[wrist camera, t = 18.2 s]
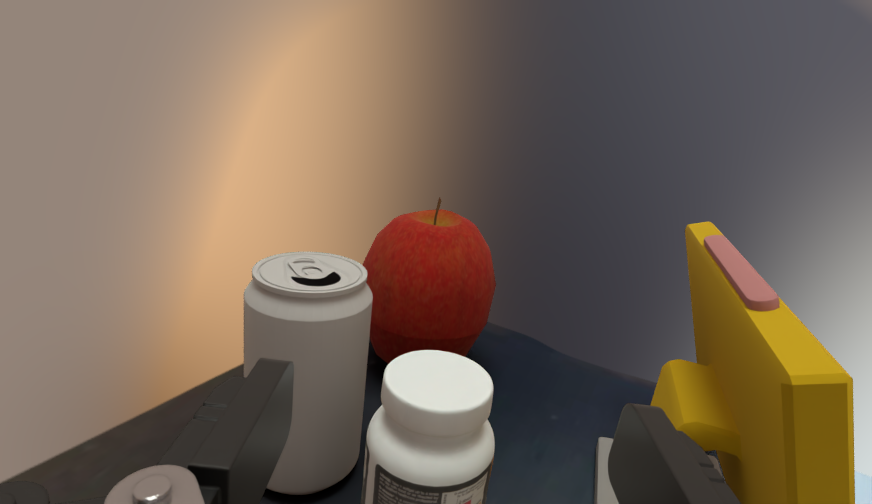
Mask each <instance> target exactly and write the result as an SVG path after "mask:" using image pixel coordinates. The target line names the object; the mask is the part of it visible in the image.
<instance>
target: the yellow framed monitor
mask: <svg viewBox="0 0 872 504" xmlns="http://www.w3.org/2000/svg"><path fill="white" fill-rule="evenodd" d="M685 237H686V247H687V258H688V269H689V280H690V291H691V302H692V312H693V324H694V335H695V346H696V357H697V363H693V362H689V361H685V360H681V359H677V360H672V361H669V362H668V363H666V364H665V365H664V366H663V367H662V369H661V373H660V376H659V379H658V382H657V386H656V389H655V392H654V396H653V399H652V402H651V405H650V406H656V407H660V408H661V409H662V410H663V411H664V412H665V414H666V415H667V417H668V418H669V420H670V421H671V423H672V424H673V426H674V427H675V429H676V430H677V431H683V432H684V433H685V434H686V435H687V436H689V437H690V438H691V439H692V440H693V441H695V442H696V443H697V444H698V445H699V446H701V447H702V449H703V450H704V451H712V450H716V452H717V455H718V459H719V462H720V465H721V468H722V471H723V474H724V478H725V481H726V484H728V486H729V487H730V488H731V490H732V491H733V493H734V494H735V495H736V497H737V498H738V500H739V501H740V503H741V504H855V481H854V423H853V379H852V378H851V377H850V375H849V374H848V373H847V372H846V371H845V370H844V369H843V368H842V366H841V365H840V364H839V363H838V362H837V361H836V360H835V359H834V358H833V356H832V355H831V354H830V353H829V352H828V351H827V350H826V349H825V348H824V346H822V344H821V343H820V342H819V341H818V340H817V339H816V338H815V337H814V335H813V334H812V333H811V332H810V331H809V330H808V329H807V328H806V327H805V325H804V324H803V323H802V322H801V321H800V320H799V319H798V318H797V317H796V315H795V314H794V313H793V312H792V311H791V310H790V309H789V308H788V307H787V306H786V304H785V303H784V302H783V301H782V300H781V299H780V298H779V296H778V295H777V294H776V293H775V291H774V290H773V289H772V288H771V287H770V286H769V285H768V284H767V283H766V281H765V280H764V279H763V278H762V277H761V276H760V275H759V274H758V273H757V272H756V270H755V269H754V268H753V267H752V266H751V265H750V264H749V263H748V262H747V260H746V259H745V258H744V257H743V256H742V255H741V254H740V253H739V252H738V250H737V249H736V248H735V247H734V246H733V245H732V244H731V243H730V242H729V241H728V239H726V237H725V236H723V235H722V233H721V232H720V231H719V230H718V229H717V228H716V227H715V226H714V225H713V224H712V223H711V222H703V223H696V224H689V225H687V227H686V229H685ZM612 442H613V439H611V438H605V437H600V438H599V439H598V443H597V447H596V467H595V496H594V504H619V503H618V500H617V498H616V495H615V493H614V491H613V488H612V486H611V483H610V480H609V475H608V457H609V453H610V449H611V446H612ZM707 456H708V457H709V459H710V460H711V461H712V463H713V464H714V468H715V469H717V470H718V471H719V473H720V474H721V476H722V473H721V470H720V467H719V463H718V460H717V458H715V457H714V456H710V455H707ZM722 477H723V476H722Z"/></svg>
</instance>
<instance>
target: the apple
mask: <svg viewBox="0 0 872 504" xmlns="http://www.w3.org/2000/svg"><path fill="white" fill-rule="evenodd" d="M440 203H441V199H440V198H439V201H438V205H437V209H436V210H427V211H418V212H413V213H409V214H404V215H400V216H398V217H397V218H394V219H393V220H392V221H391V222H390V223H389V224H388V225H387V226H386V227H385V228H384V229H383V230H381V231H380V232H379V233H378V234H377V236H376V238H375V240H374V242H373V244H372V246H371V248H370V250H369V252H368V254H367V257H366V258H365V261H364V263H363V265H362V266H364V267H365V269H366V270H367V281H366V283H367V285H368V286H369V288H370V290H371V292H372V294H373V301H372V313H371V324H370V339H371V343H372V346H373V348H374V350H375V352H376V354H377V355H378V356H379V357H380V358H382V359H383V360H384V361H385V362H387V363H388V364H389V363H390V362H391V361H392V360H394V359H395V358H397V357H398V356H400V355H403V354H405V353H409V352H412V351H420V350H439V351H445V352H451V353H455V354H458V355H461V356H464V357H465V356H466V355H467V353H468V352H469V350H470V348H471V347H472V345H473V344H474V342H475V341H476V339H477V337H478V336H479V334H480V333H481V331H482V330H483V328H484V326H485V325H486V323H487V319H488V315H489V311H490V307H491V303H492V299H493V295H494V291H495V286H496V283H495V276H494V270H493V264H492V258H491V253H490V250H489V247H488V245H487V243H486V242H485V240H484V239H483V237H482V235H481V233H480V231H479V230H478V228H477V227H476V225H474V224H473V223H472V222H471V221H469V220H468V219H466V218H464V217H462V216H460V215H458V214H456V213H453V212H451V211H446V210H439V207H440Z"/></svg>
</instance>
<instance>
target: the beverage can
mask: <svg viewBox="0 0 872 504" xmlns="http://www.w3.org/2000/svg"><path fill="white" fill-rule="evenodd" d="M252 278H253V280H252V281H251V282H250V283H249V285H248V286H247V288H246V289H245V292H244V377H246V378H247V376H248V375H249V373H250V372H251V370H252V369H253V367H254V366H255V364H256V363H257V361H258V360H259V359H260V358H269V359H278V360H286V361H292V362H293V364H294V383H293V406H292V421H291V427H290V432H289V436H288V439H287V442H286V444H285V447H284V449H283V451H282V453H281V456H280V458H279V460H278V462H277V465H276V467H275V469H274V471H273V474H272V476H271V478H270V480H269V483H268V485H267V487H266V488H268V489H270V490H272V491H276V492H280V493H285V494H292V495H306V494H312V493H316V492H319V491H321V490H324V489H326V488H328V487H330V486H332V485H334V484H336V483H337V482H339V481H340V480H342V479H343V478H344V477H345V476H347V475H348V474H349V473H350V471H351V470H352V469H353V467H354V466H355V464H356V462H357V459H358V456H359V451H360V439H361V428H362V416H363V405H364V393H365V382H366V370H367V359H368V347H369V336H370V324H371V313H372V301H373V294H372V292H371V290H370V288H369V286H368V285H367V283H366V281H367V270H366V269H365V267H364V266H362V265H361V264H359V263H358V262H356V261H354V260H352V259H349V258H346V257H343V256H339V255H334V254H329V253H320V252H291V253H284V254H278V255H274V256H270V257H267V258H265V259H262V260H260V261H259V262H258V263H256V264H255V265H254V267H253V269H252Z"/></svg>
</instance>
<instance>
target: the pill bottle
mask: <svg viewBox="0 0 872 504" xmlns="http://www.w3.org/2000/svg"><path fill="white" fill-rule="evenodd" d="M492 397H493V383H492V380H491V377H490V376H489V374H488V373H487V372H486V371H485V369H483V368H482V367H481V366H480V365H479V364H477V363H476V362H474V361H472V360H470V359H468V358H466V357H464V356H461V355H458V354H455V353H451V352H445V351H439V350H420V351H412V352H409V353H405V354H403V355H400V356H398V357H397V358H395V359H394V360H392V361H391V362H390V363H389V364H388V365H387V367H386V369H385V371H384V376H383V383H382V390H381V402H382V405H381V406H380V408H379V409H378V410H377V411H376V412H375V414H374V416H373V417H372V419H371V421H370V424H369V427H368V430H367V436H366V449H365V462H364V474H363V485H362V496H361V504H485V502H486V495H487V490H488V484H489V479H490V473H491V468H492V462H493V456H494V434H493V431H492V428H491V425H490V423H489V421H488V419H487V418H488V417H489V414H490V411H491V405H492Z"/></svg>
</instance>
